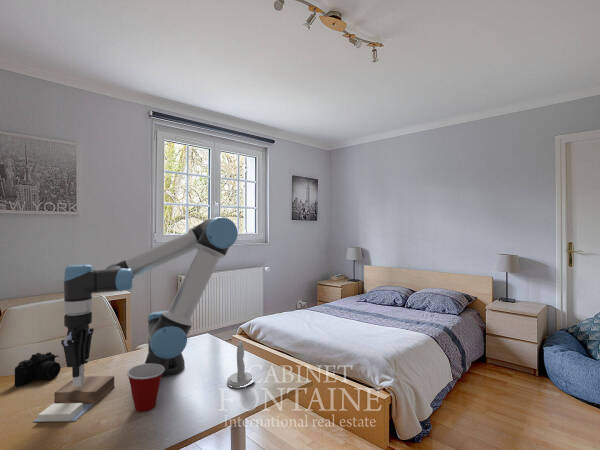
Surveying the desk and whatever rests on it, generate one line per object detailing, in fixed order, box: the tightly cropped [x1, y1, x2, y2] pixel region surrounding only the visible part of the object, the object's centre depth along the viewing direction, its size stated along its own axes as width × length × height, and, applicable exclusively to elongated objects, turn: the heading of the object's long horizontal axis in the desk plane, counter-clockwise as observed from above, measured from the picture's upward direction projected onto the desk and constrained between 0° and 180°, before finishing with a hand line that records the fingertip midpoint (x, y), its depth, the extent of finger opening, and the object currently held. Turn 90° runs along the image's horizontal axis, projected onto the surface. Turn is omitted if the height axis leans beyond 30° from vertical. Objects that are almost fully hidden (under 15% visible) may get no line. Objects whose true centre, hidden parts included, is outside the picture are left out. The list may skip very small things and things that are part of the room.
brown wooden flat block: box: [53, 375, 115, 405], centre depth 111 cm, size 13×11×4 cm
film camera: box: [13, 351, 61, 388], centre depth 124 cm, size 15×10×9 cm, turn 168°
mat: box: [33, 404, 95, 423], centre depth 101 cm, size 12×9×1 cm
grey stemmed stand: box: [226, 340, 253, 388], centre depth 121 cm, size 10×10×15 cm
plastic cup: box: [126, 363, 165, 413], centre depth 104 cm, size 11×11×12 cm
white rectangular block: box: [37, 402, 83, 423], centre depth 99 cm, size 9×6×2 cm, turn 91°
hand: (78, 385), depth 107 cm, fingers closed
